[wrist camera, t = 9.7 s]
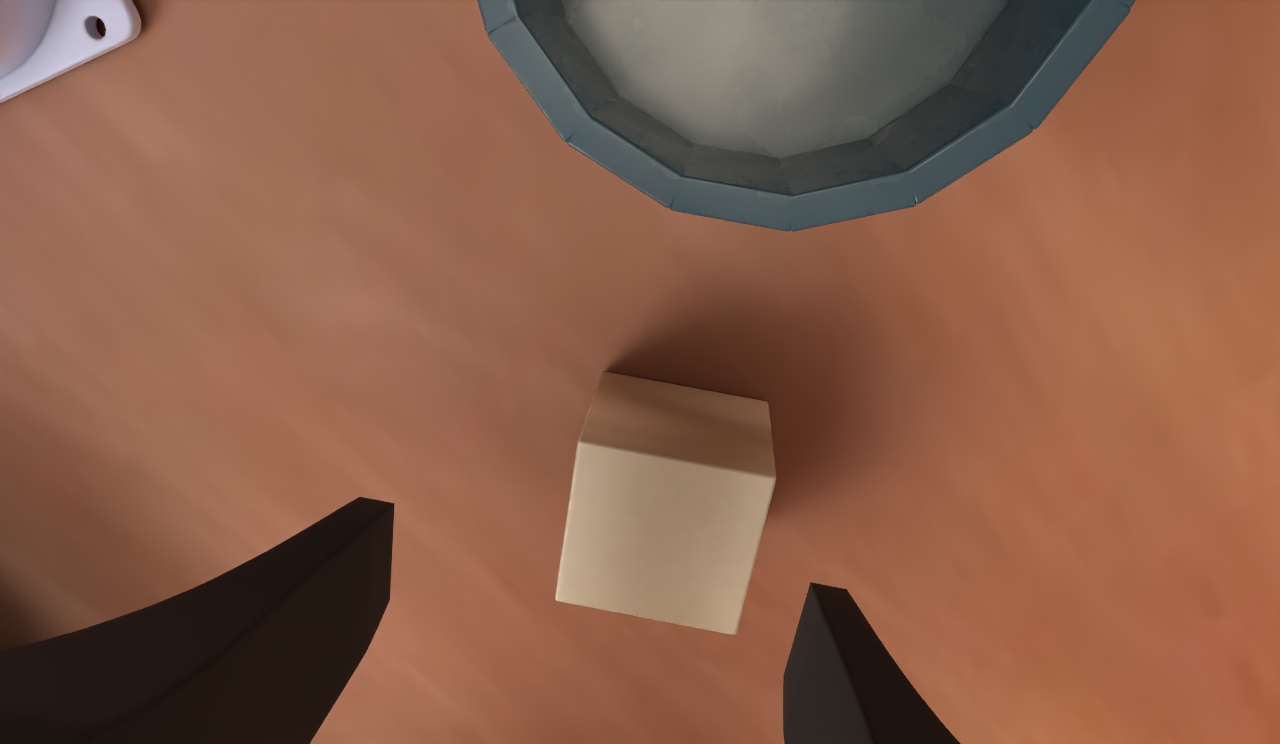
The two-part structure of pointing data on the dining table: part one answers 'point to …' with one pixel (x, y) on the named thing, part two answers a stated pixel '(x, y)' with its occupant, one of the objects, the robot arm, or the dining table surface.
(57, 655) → the robot arm
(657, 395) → the block
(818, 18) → the tin
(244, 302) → the dining table surface
